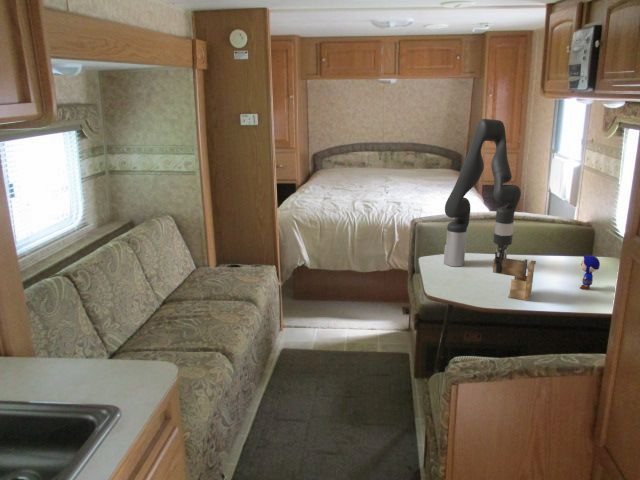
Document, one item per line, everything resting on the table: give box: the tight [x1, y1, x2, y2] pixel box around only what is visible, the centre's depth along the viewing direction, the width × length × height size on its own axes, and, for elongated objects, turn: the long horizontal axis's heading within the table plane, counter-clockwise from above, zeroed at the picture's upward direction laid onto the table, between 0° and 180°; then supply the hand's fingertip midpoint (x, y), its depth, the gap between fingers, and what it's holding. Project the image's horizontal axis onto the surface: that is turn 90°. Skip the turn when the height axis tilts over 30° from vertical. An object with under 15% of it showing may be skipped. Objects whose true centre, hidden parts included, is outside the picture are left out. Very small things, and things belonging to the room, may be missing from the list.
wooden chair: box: [507, 259, 537, 302], centre depth 228 cm, size 8×9×15 cm
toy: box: [579, 254, 601, 291], centre depth 236 cm, size 13×8×15 cm, turn 142°
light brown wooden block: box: [492, 257, 528, 278], centre depth 230 cm, size 13×4×7 cm, turn 60°
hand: (499, 270), depth 232 cm, fingers closed on light brown wooden block, 4 cm apart
